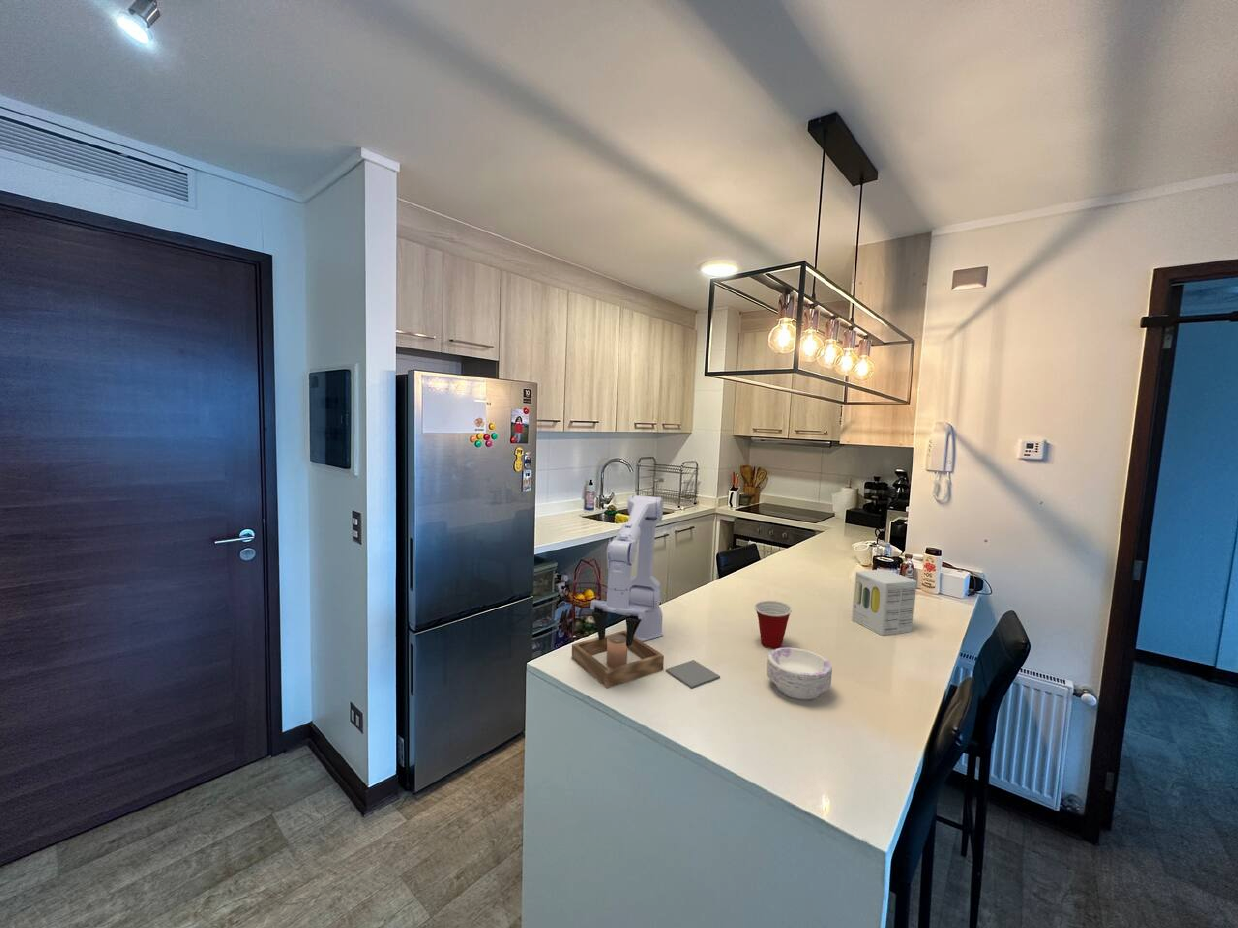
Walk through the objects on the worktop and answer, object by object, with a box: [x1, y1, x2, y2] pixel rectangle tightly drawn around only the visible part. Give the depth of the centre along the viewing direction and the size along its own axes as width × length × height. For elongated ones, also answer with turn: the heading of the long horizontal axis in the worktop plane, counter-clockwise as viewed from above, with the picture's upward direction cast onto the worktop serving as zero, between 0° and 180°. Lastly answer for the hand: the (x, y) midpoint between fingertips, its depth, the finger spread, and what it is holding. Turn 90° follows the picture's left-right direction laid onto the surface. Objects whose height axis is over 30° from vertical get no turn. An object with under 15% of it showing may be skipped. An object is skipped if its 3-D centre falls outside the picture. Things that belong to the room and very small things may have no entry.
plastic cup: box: [754, 600, 793, 650], centre depth 147 cm, size 11×11×12 cm
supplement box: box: [851, 568, 917, 636], centre depth 164 cm, size 13×13×18 cm
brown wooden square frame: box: [571, 630, 665, 689], centre depth 132 cm, size 18×18×4 cm
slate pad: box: [665, 659, 721, 690], centre depth 128 cm, size 10×10×1 cm
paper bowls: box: [766, 647, 833, 701], centre depth 122 cm, size 15×15×8 cm
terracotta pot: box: [606, 635, 628, 669], centre depth 132 cm, size 6×6×7 cm
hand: (615, 642), depth 123 cm, fingers open, 7 cm apart
